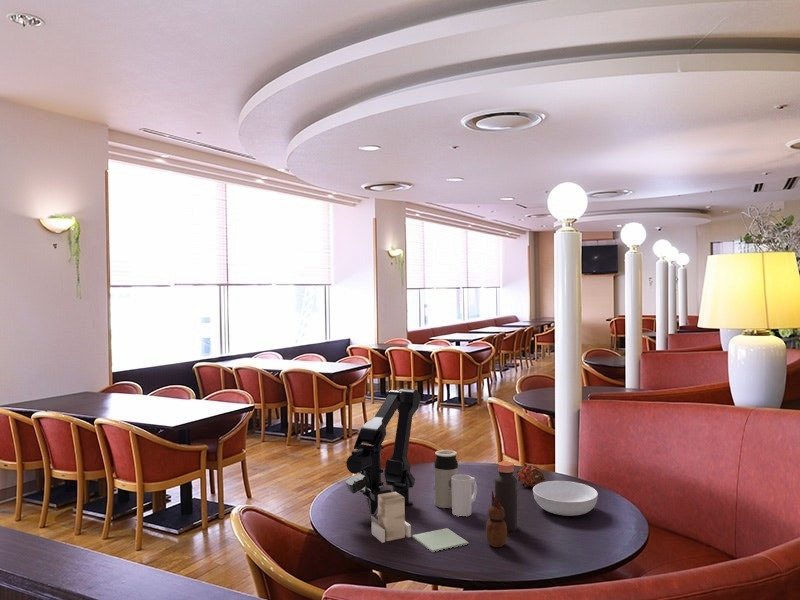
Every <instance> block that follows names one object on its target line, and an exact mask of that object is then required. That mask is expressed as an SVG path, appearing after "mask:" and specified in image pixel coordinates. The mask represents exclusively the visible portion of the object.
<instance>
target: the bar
mask: <svg viewBox="0 0 800 600" xmlns="http://www.w3.org/2000/svg"><path fill="white" fill-rule="evenodd" d="M370 515H371V523H372V522H375V523H377V524H378V513H375V514H370Z"/></svg>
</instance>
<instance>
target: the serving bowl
mask: <svg viewBox="0 0 800 600" xmlns="http://www.w3.org/2000/svg"><path fill="white" fill-rule="evenodd" d="M532 493H533V498H534V500H535V502H536V503H537V505H539V507H541V508H542V509H543V510H545V511H546V512H548V513H551V514H554V515H559V516H566V517H567V516H571V517H572V516H573V517H575V516H581V515H585V514H587V513H590V511H592V510H593V509H594V508H595V507H596V504H597V502H598V498H599V497H598V496H599V493H598V491H597V490H596V489H595V488H594V487H592V486H589V485H588V484H584V483H580V482H577V481H569V480H551V481H543V482H542V483H539V484H537V485H535V486H534V488H533V487H532Z"/></svg>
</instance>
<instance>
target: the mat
mask: <svg viewBox="0 0 800 600" xmlns="http://www.w3.org/2000/svg"><path fill="white" fill-rule="evenodd" d="M411 537H412V538H413V539H414V540H415V541H417V542H418V543H419V544H420V545H422V546H423V547H424V548H426V549H427V550H428V549H429V550H428V551H430V552H431V553H436V552H440V551H439V550H441V551H444V550H443V549H445V550H449V549H448V548H450V549H453V548H452V547H454V548H458V546H459V547H462V545H463V546H466V545H467V544H468V545H469V541H467V540H466V539H464V538H463V537H461V536H460V535H458V534H457V533H456V532H454V531H452V530H451V529H449V528H448V527H446V528H442V529H436V530H432V531H427V532H421V533H417V534H411ZM435 551H436V552H435Z"/></svg>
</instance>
